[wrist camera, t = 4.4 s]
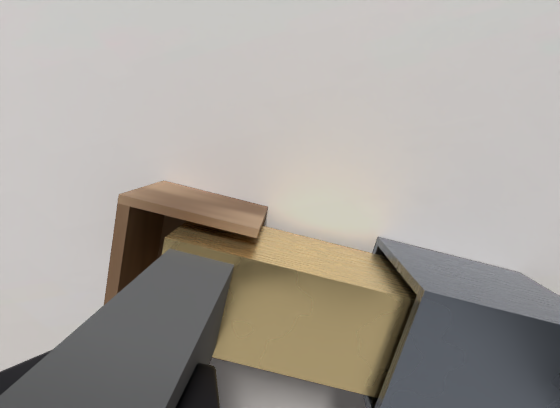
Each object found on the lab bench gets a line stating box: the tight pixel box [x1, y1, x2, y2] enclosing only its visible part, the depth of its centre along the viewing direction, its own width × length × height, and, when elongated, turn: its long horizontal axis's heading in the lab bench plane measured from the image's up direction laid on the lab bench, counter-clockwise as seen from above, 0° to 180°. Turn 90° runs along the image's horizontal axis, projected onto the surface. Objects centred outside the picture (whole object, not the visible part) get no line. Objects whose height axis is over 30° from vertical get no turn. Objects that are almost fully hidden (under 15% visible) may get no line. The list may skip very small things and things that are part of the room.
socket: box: [104, 181, 268, 361], centre depth 12 cm, size 5×5×3 cm
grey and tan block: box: [0, 221, 417, 408], centre depth 8 cm, size 9×4×10 cm, turn 76°
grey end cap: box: [363, 237, 560, 408], centre depth 11 cm, size 6×5×5 cm
